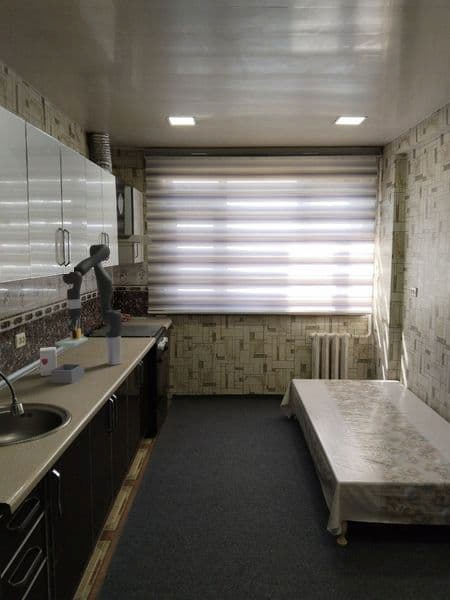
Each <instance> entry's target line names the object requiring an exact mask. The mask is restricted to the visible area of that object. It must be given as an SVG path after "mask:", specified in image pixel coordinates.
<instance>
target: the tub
mask: <svg viewBox="0 0 450 600" xmlns="http://www.w3.org/2000/svg"><path fill="white" fill-rule="evenodd" d="M50 377H51V378H50V379H51V383H52V384H74V383H76V382H77V381H79V380H80V379H82V378H84V377H85V366H84V364H81V363H64V364H61V365H59V366H57V368H55V369H52V370H51V375H50Z"/></svg>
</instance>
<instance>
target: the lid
mask: <svg viewBox="0 0 450 600" xmlns="http://www.w3.org/2000/svg"><path fill="white" fill-rule="evenodd" d="M69 333H70V337H66V338H64V339H61V340H59V341H56V342H54V346H57V347H70V348H71V347H73V348H74V347H77V346H80V345H82V344H85V343H87V342H86V341H88V340H89V338H88V337H82V327H81V328H76V335H77V338H72V332H71V331H70V330H69Z"/></svg>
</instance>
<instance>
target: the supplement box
mask: <svg viewBox="0 0 450 600" xmlns="http://www.w3.org/2000/svg"><path fill="white" fill-rule="evenodd" d="M57 360H58V358H57V347H56V346H53V347H51V346H49V347H40V349H39V367H40V368H39V369H40V376H41V377H43V376H51V370H52V369H55V368H57V367H58V361H57Z"/></svg>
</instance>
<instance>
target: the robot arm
mask: <svg viewBox="0 0 450 600" xmlns="http://www.w3.org/2000/svg"><path fill="white" fill-rule="evenodd" d="M110 254H111V248H110V247H109V246H108V245H107V244H105V243H101V244H100V243H99V244H92V245H90V247H89V256H88V257H86V258H85V259H82V260H81V261H80V262H78V264H76V265H75V266H73V267H74V272H70V273H69V274H64V273H63V275H62V282H63V283H64V284H67V285H72V287H71V288H69V289H67V290H66V300H67V301H66V310H67V311H66V312H67V316H68V317H69V321H67V323H66V324H67V326H68V330H69V332H70V331H71V332H72V338H77V335H76V328H81V329H82V326H83V318H81V316H82V312H83V311H82V301H81V287H82V282H83V277H84V276H85V275H86V274H88V273H89V272H90V271H91V270H92V269H93V271H94V275H95V280H96V286H97V288H96V289H97V292H98V298H99V303H100V312H101V314H100V315H101V321H102V323H103V324H104V325H105V326H109V327H110V328H109V330H107V331H106V332H105V349H106V364H107V365H108V366H117V365H121V364H122V363H123V361H122V359H123V358H122V357H123V356H122V355H123V354H122V336H121V335H122V334H121V333H122V329H123V328H122V326H123V325H122V324H123V323H122V322H123V321H122V320H123V319H122V315H121V313H120V312H119V311H117V310H112V306H111V300H112V297H113V292H114V286H113V279H112V278H111V276H110V275H109V273H107V271H106V270H105V269H104V267H103V265H102V262H104V261H105V260H107V259H108V258H109V257H110V256H111V255H110Z"/></svg>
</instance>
